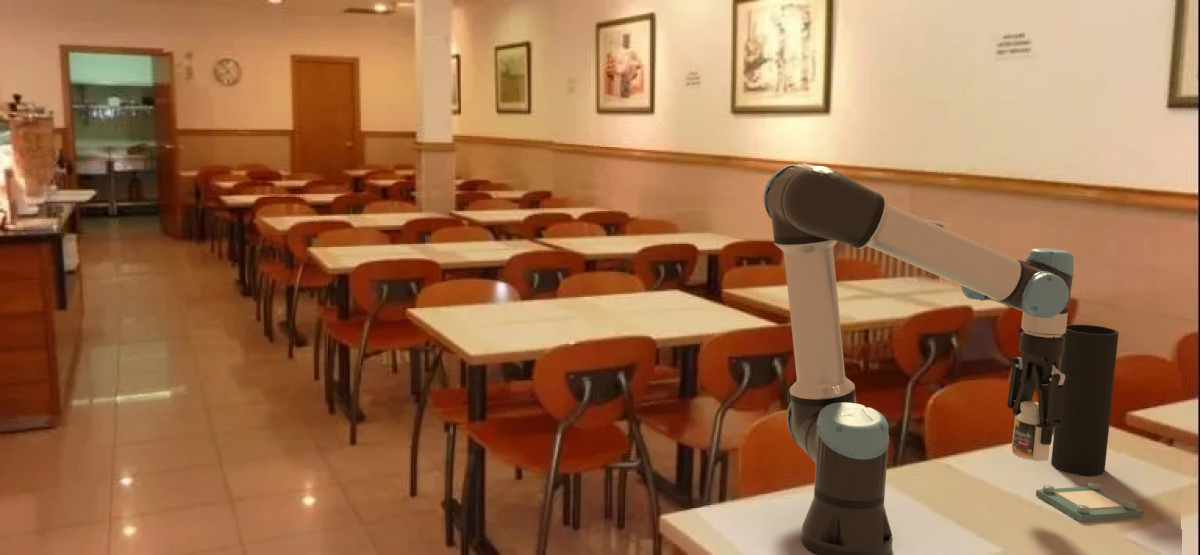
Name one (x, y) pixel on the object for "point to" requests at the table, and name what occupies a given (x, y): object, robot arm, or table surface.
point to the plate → (1088, 503)
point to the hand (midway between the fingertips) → (1029, 453)
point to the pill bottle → (1026, 430)
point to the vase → (1086, 400)
